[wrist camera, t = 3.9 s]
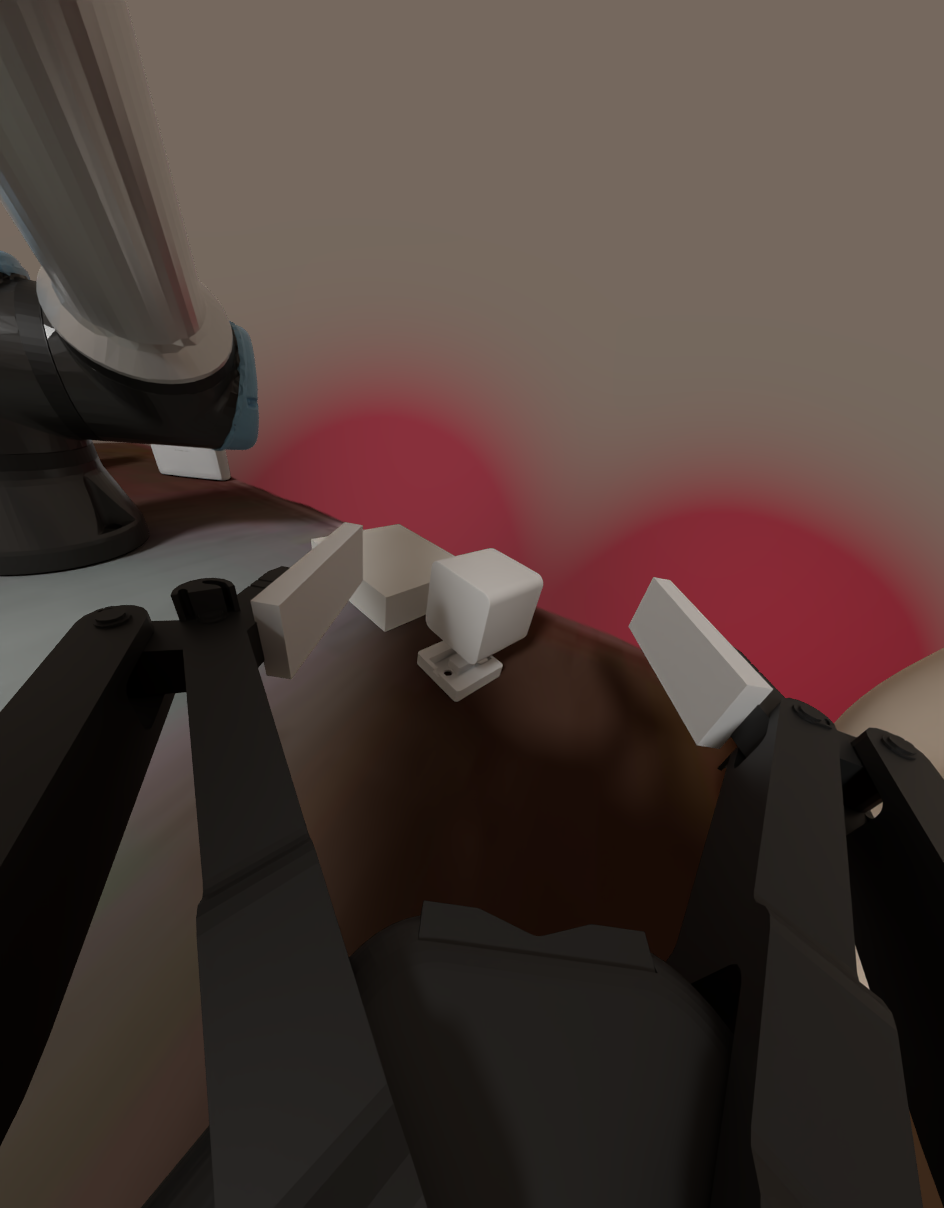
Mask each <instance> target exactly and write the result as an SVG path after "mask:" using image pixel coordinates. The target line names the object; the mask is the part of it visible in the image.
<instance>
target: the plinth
mask: <svg viewBox="0 0 944 1208" xmlns="http://www.w3.org/2000/svg"><path fill="white" fill-rule="evenodd" d="M327 537H328V536H327ZM327 537H322V538H316V539H311V543H312V549H313V548H315V547H316V546H317V545H318V544H319V543H321V542H322V541H323V540H324V539H325V538H327ZM450 557H454V555H452V554H450V553H449V552H447V551H445V550H444V549H442V548H440V547H438V546H436V545H435V544H433V543H431V542H430V541H428V540H426V539H424V538H423V537H421V536H419V535H417V534H416V533H414V532H412V531H410V530H408V529H407V528H405V527H403V526H402V525H400V524H396V525H391V526H385V527H379V528H373V529H368V530H363V581H362V583H361V584H360V585H359V587H358V588H357V590H356V591H355V592H354V594H353V595H352V597H351V598H350V599H349V601H350V602H351V603H352V604H353V605H354V606H355V607H356V608H358V609H359V610H360V611H361V612H362V613H363V614H365V615H366V616H367V617H368V618H369V619H370V620H371V621H373V622H374V623H375V624H376V625H377V626H378V627H380V628H381V629H382V630H383V631H384V632H386V631H389V630H391V629H393V628H396V627H398V626H400V625H403V624H405V623H407V622H410V621H412V620H414V619H417V618H419V617H421V616H424V615H426V609H427V601H428V593H429V584H430V576H431V567H432V564H433V562H435V561H438V560H442V559H446V558H450Z"/></svg>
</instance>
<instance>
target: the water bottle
mask: <svg viewBox="0 0 944 1208" xmlns="http://www.w3.org/2000/svg"><path fill="white" fill-rule="evenodd" d="M834 725H835V727H836V729H837V730H838V731H840V732H843V733H846V734H849V735H851V736H854V737H858V736H859V735H860V734H862V733H863V732H864V731H865V730H867V729H868V728H878V729H881V730H884V731H887V732H889V733H892V734H894V735H898V736H900V737H901V738H903V739H905V741H906V740H907V741H908V742H910V743H911V744H913V745H914V747H915V748H917V749H918V750H919V751H920V752H922V753H923V754H924V755H925V756H926V757H927V758H928V759H929V760H930V761H931V763H932V764H933V766H934V767H935V768H936V770H937V771H938V772H939V774H940V775H941V776H942V778H943V779H944V648H943V649H941V650H939V651H937V652H935V653H933V654H931V655H929V656H927V657H925V658H923V659H922V660H920V661H918V662H916V663H914V664H912V665H910V666H908V667H907V668H905V669H903V670H902V671H900V672H898V673H896V674H895V675H893V676H891V677H890V678H888V679H887V680H885V681H883V682H882V683H880V684H879V685H877V686H876V687H875V688H873V689H872V690H870V691H869V692H868V693H867V694H865V695H864V696H862V697H861V698H860V699H859V700H858V701H856V702H855V703H854V704H853V705H852V706H851V707H850V708H848V709H847V710H846V711H845V712H844V713H843V714H842V715H841V716H840V717H839V719H838V720H837V721H836V722H835V723H834ZM882 805H883V802H882V803H881V804H879V805H878V806H876V807H875V808H873V809H872V810H871V812H872V814H873V816H874V818H875V817H876V816H877V815H878V814H879V813H880V812H881V809H882ZM855 952H856V964H857V974H858V978H859V982H861V983H862V984H863V985H864V986H866V987H867V988H868V989H869V986H868V983H867V980H866V977H865V974H864V971H863V968H862V965H861V962H860V959H859V955H858V952H857V949H856V946H855ZM869 990H870V989H869Z"/></svg>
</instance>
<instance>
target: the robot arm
mask: <svg viewBox="0 0 944 1208" xmlns="http://www.w3.org/2000/svg"><path fill="white" fill-rule="evenodd" d="M0 202H1V203H2V205H3V206H4V208H5V210H6V211H7V213H8V214H9V216H10V217H11V219H12V220H13V222H14V223H15V225H16V226H17V228H18V230H19V231H20V233H21V234H22V236H23V237H24V239H25V241H26V242H27V243H28V245H29V247H30V248H31V250H32V251H33V253H34V255H35V256H36V258H37V259H38V261H39V262H40V264H41V265H42V266H41V268H40V270H39V272H38V276H37V281H32V280H30V277H29V275H28V272H27V271H26V270H25V269H24V268H23V267H22V266H21V264H20V263H19V261H18V260H17V259H16V258H14V257H13V256H12V255H10V254H8V253H6V252H3V251H0V575H19V574H33V573H43V572H51V571H58V570H64V569H70V568H76V567H81V566H85V565H90V564H94V563H98V562H102V561H105V560H108V559H111V558H115V557H117V556H120V555H123V554H125V553H127V552H130V551H132V550H134V549H135V548H137V547H139V546H140V545H142V544H143V543H144V542H145V541H146V540H147V539H148V537H149V530H148V527H147V524H146V521H145V519H144V516H143V514H142V513H141V511H140V510H139V509H138V507H137V506H136V505H135V504H134V503H133V501H132V500H131V499H130V498H129V497H128V495H127V494H126V493H125V492H124V491H123V489H122V488H121V487H120V486H119V485H118V483H117V482H116V481H115V480H114V479H113V477H112V476H111V475H110V474H109V473H108V471H107V470H106V469H105V468H104V467H103V465H102V463H101V462H100V459H99V457H98V455H97V452H96V450H95V447H94V445H93V442H92V440H100V441H114V442H127V443H141V444H155V445H169V446H182V447H193V448H205V449H212V450H215V451H223V450H225V449H230V450H246V449H249V448H251V447H253V446H254V444H255V443H256V441H257V437H258V427H259V413H258V404H257V390H258V389H257V377H256V368H255V359H254V353H253V347H252V343H251V339H250V336H249V334H248V333H247V332H246V330H244V329H243V328H242V327H240V326H237V325H235V324H234V323H233V322H230V321H229V320H228V317H227V315H226V313H225V310H224V308H223V307H222V305H221V304H220V303H219V301H218V299H217V298H216V297H215V296H214V295H213V294H212V292H211V291H210V290H209V289H208V288H207V287H206V286H205V285H204V284H203V283H202V282H201V281H199V279H198V275H197V271H196V267H195V264H194V260H193V255H192V252H191V248H190V244H189V240H188V236H187V232H186V228H185V225H184V221H183V217H182V213H181V209H180V205H179V202H178V198H177V194H176V190H175V186H174V182H173V179H172V175H171V171H170V167H169V163H168V159H167V155H166V151H165V148H164V144H163V140H162V136H161V132H160V128H159V125H158V121H157V117H156V114H155V109H154V106H153V102H152V98H151V94H150V90H149V86H148V82H147V78H146V74H145V71H144V67H143V63H142V60H141V55H140V52H139V48H138V44H137V40H136V36H135V32H134V28H133V25H132V21H131V17H130V13H129V9H128V5H127V1H126V0H0ZM362 581H363V526H362V525H358V524H352V523H347V522H345V523H344V524H342V525H341V526H340V527H339V528H338V529H336V530H335V531H334V532H333V533H331V534H330V535H329V536H328V537H327V538H325V539H324V540H323V541H322V542H321V543H319V544H318V545H317V546H316V547H315V548H313V549H312V550H311V551H310V552H309V553H307V554H306V555H305V556H304V557H303V558H301V559H300V560H299V561H298V562H297V563H295V564H294V565H293V566H292V567H291V568H289V567H283V566H281V567H279V568H276V569H273V570H271V571H268V572H267V573H265V574H264V575H263V576H261V577H260V578H259V579H258V580H256V581H255V582H254V583H252V584H251V586H248V587H247V588H246V589H244V590H243V591H242V592H240V593H239V594H238V595H237V594H236V590H235V586H234V585H233V584H232V582H230V581H228V580H225V579H219V578H203V579H197V580H193V581H189V582H186V583H184V584H181V585H179V586H178V587H176V588H175V589H174V590H173V591H172V593H171V598H172V600H173V603H174V606H175V609H176V611H177V614H178V617H179V620H174V621H151V619H150V617H149V614H148V612H147V611H146V610H145V609H144V608H142V607H139V606H135V605H120V606H110V607H105V608H104V609H103V608H102V609H99V610H96V611H94V612H92V613H89V614H87V615H85V616H83V617H82V618H81V619H79V620H78V621H77V622H76V623H75V624H74V625H73V626H72V628H71V629H70V630H69V631H68V632H67V633H66V635H65V636H64V637H63V638H62V639H61V641H60V642H59V643H58V644H57V645H56V647H55V648H54V649H53V650H52V651H51V652H50V654H49V655H48V656H47V657H46V658H45V660H44V661H43V662H42V663H41V664H40V666H39V667H38V668H37V669H36V670H35V671H34V673H33V674H32V675H31V676H30V677H29V679H28V680H27V681H26V682H25V683H24V685H23V686H22V687H21V688H20V689H19V690H18V692H17V693H16V694H15V695H14V696H13V698H12V699H11V700H10V701H9V702H8V704H7V705H6V706H5V707H4V708H3V709H2V711H1V712H0V1146H1V1144H2V1142H3V1140H4V1138H5V1135H6V1133H7V1131H8V1129H9V1127H10V1125H11V1123H12V1121H13V1119H14V1117H15V1115H16V1113H17V1111H18V1109H19V1107H20V1105H21V1103H22V1101H23V1099H24V1097H25V1094H26V1092H27V1089H28V1087H29V1085H30V1082H31V1080H32V1077H33V1075H34V1072H35V1070H36V1068H37V1065H38V1063H39V1060H40V1058H41V1055H42V1053H43V1051H44V1048H45V1046H46V1043H47V1041H48V1038H49V1036H50V1033H51V1030H52V1028H53V1025H54V1022H55V1019H56V1017H57V1014H58V1011H59V1008H60V1006H61V1003H62V1000H63V998H64V995H65V992H66V989H67V987H68V984H69V981H70V979H71V976H72V973H73V970H74V968H75V965H76V962H77V959H78V957H79V954H80V951H81V949H82V946H83V943H84V940H85V938H86V935H87V932H88V930H89V927H90V924H91V921H92V919H93V916H94V913H95V910H96V908H97V905H98V902H99V900H100V897H101V894H102V891H103V889H104V886H105V883H106V881H107V878H108V875H109V872H110V870H111V867H112V864H113V861H114V859H115V856H116V853H117V851H118V848H119V845H120V842H121V840H122V837H123V834H124V831H125V829H126V826H127V823H128V821H129V818H130V815H131V812H132V810H133V807H134V804H135V802H136V799H137V796H138V793H139V791H140V788H141V785H142V782H143V780H144V777H145V774H146V772H147V769H148V766H149V763H150V761H151V758H152V755H153V753H154V750H155V747H156V744H157V742H158V739H159V736H160V733H161V731H162V728H163V725H164V723H165V720H166V717H167V714H168V712H169V709H170V706H171V704H172V701H173V698H174V695H175V693H181V692H187V704H188V715H189V727H190V739H191V750H192V762H193V774H194V785H195V797H196V808H197V820H198V832H199V843H200V855H201V866H202V878H203V898H202V900H201V901H200V903H199V905H198V908H197V917H196V927H197V948H198V963H199V978H200V992H201V1007H202V1022H203V1036H204V1051H205V1066H206V1080H207V1095H208V1110H209V1124H210V1125H209V1126H208V1128H207V1129H206V1130H205V1131H204V1132H203V1134H202V1135H201V1136H200V1137H199V1138H198V1140H197V1141H196V1142H195V1143H194V1145H193V1146H192V1147H191V1148H190V1149H189V1151H188V1152H187V1153H186V1154H185V1155H184V1157H183V1158H182V1159H181V1160H180V1161H179V1163H178V1164H177V1165H176V1166H175V1167H174V1169H173V1170H172V1171H171V1172H170V1173H169V1175H168V1176H167V1177H166V1178H165V1179H164V1181H163V1182H162V1183H161V1184H160V1185H159V1187H158V1188H157V1189H156V1190H155V1191H154V1193H153V1194H152V1195H151V1196H150V1197H149V1199H148V1200H147V1201H146V1202H145V1204H144V1205H143V1206H142V1207H141V1208H923V1205H922V1198H921V1191H920V1184H919V1177H918V1170H917V1163H916V1156H915V1149H914V1142H913V1135H912V1129H911V1122H910V1115H909V1110H910V1113H911V1116H912V1119H913V1122H914V1125H915V1128H916V1131H917V1135H918V1138H919V1141H920V1144H921V1147H922V1149H923V1152H924V1155H925V1158H926V1160H927V1163H928V1166H929V1169H930V1171H931V1174H932V1177H933V1180H934V1182H935V1185H936V1188H937V1191H938V1193H939V1196H940V1199H941V1201H942V1204H943V1207H944V779H943V778H942V776H941V775H940V774H939V772H938V771H937V770H936V768H935V767H934V766H933V764H932V763H931V761H930V760H929V759H928V758H927V757H926V756H925V755H924V754H923V753H922V752H920V751H919V750H918V749H917V748H915V747H914V745H913V744H911V743H910V742H908V741H907V740H906V741H905V739H903V738H901V737H900V736H898V735H894V734H892V733H889V732H887V731H884V730H881V729H878V728H868V729H867V730H865V731H864V732H863V733H862V734H860V735H859V736H858V737H854V736H851V735H849V734H846V733H843V732H840V731H838V730H837V729H836V727H835V725H834V724H833V723H832V721H831V720H830V719H829V718H828V717H826V716H825V715H824V714H823V713H821V712H820V711H819V710H817V709H815V708H814V707H812V706H810V705H808V704H806V703H804V702H801V701H799V700H796V699H792V698H785V697H784V696H783V695H782V694H781V693H780V692H779V691H778V690H777V689H776V688H775V687H774V686H773V685H772V684H771V683H770V682H769V681H768V680H767V679H766V677H764V676H763V674H762V673H760V672H759V670H758V669H757V668H756V667H755V666H754V665H753V664H751V662H750V661H749V660H748V659H747V658H746V657H745V656H744V655H743V653H742V652H740V651H739V650H737V649H736V648H735V647H733V646H732V645H731V644H730V643H729V642H728V641H727V640H726V639H725V638H724V637H723V636H722V635H721V634H720V633H719V631H718V630H717V629H716V628H715V627H714V626H713V625H712V624H711V623H710V622H709V621H708V620H707V619H706V618H705V617H704V616H703V615H702V614H701V612H700V611H698V609H697V608H696V607H695V606H694V605H693V604H692V603H691V602H690V601H689V600H688V599H687V598H686V597H685V596H684V594H683V593H682V592H681V591H680V590H679V589H678V588H677V587H676V586H675V585H674V584H673V583H672V582H671V581H670V580H666V579H660V578H655V577H654V578H653V579H652V581H651V583H650V585H649V587H648V589H647V592H646V593H645V595H644V597H643V599H642V601H641V603H640V605H639V607H638V609H637V611H636V613H635V615H634V617H633V619H632V621H631V623H630V625H629V628H630V630H631V631H632V633H633V634H634V637H635V638H636V640H637V642H638V644H639V645H640V647H641V649H642V651H643V652H644V654H645V656H646V657H647V659H648V661H649V663H650V664H651V666H652V668H653V670H654V671H655V673H656V675H657V677H658V678H659V680H660V682H661V684H662V685H663V687H664V689H665V690H666V692H667V694H668V696H669V697H670V699H671V701H672V703H673V704H674V706H675V708H676V710H677V711H678V713H679V715H680V716H681V718H682V720H683V722H684V723H685V725H686V727H687V729H688V730H689V732H690V734H691V736H692V737H693V739H694V741H695V743H696V744H697V745H700V746H706V747H712V748H718V749H720V748H721V747H722V746H723V744H724V743H725V742H726V741H727V740H728V739H729V738H730V737H732V739H733V740H734V741H735V743H736V744H737V746H738V747H737V748H736V749H735V750H734V751H733V752H732V753H731V754H730V755H729V756H728V758H727V759H726V760H725V761H724V762H723V763H722V764H721V765H720V766H719V767H718V769H719V770H721V771H722V770H723V769H724V768H727V769H726V773H725V776H724V780H723V783H722V787H721V790H720V794H719V797H718V801H717V804H716V808H715V811H714V815H713V818H712V822H711V825H710V829H709V832H708V836H707V839H706V843H705V846H704V850H703V853H702V857H701V860H700V864H699V867H698V871H697V874H696V878H695V881H694V885H693V888H692V892H691V895H690V899H689V902H688V906H687V909H686V913H685V916H684V920H683V924H682V927H681V931H680V934H679V938H678V941H677V944H676V946H675V948H674V950H673V952H672V954H671V955H670V957H669V958H668V960H667V961H666V962H664V961H663V960H661V959H660V958H658V957H657V956H655V955H654V954H652V953H650V950H649V946H648V943H647V939H646V936H645V932H643V931H636V930H628V929H621V928H614V927H607V926H600V925H593V924H590V925H586V926H582V927H578V928H574V929H570V930H565V931H561V932H557V933H553V934H549V935H545V936H534V935H531V934H529V933H527V932H525V931H523V930H521V929H519V928H517V927H515V926H513V925H511V924H509V923H507V922H505V921H503V920H501V919H499V918H497V917H495V916H493V915H491V914H489V913H487V912H485V911H483V910H481V909H479V908H473V907H466V906H459V905H452V904H445V903H438V902H431V901H424V902H423V906H422V911H421V915H420V916H416V917H411V918H407V919H404V920H402V921H399V922H397V923H394V924H392V925H390V926H388V927H387V928H385V929H383V930H381V931H380V932H378V933H377V934H375V935H374V936H373V937H372V938H370V939H369V940H368V941H366V942H365V943H364V944H363V945H362V946H361V947H360V948H359V949H357V950H356V951H355V952H354V953H353V954H352V955H351V956H350V957H349V958H348V954H347V951H346V948H345V945H344V941H343V938H342V935H341V932H340V928H339V925H338V922H337V919H336V916H335V912H334V909H333V906H332V903H331V899H330V896H329V893H328V890H327V886H326V883H325V880H324V877H323V873H322V870H321V867H320V864H319V860H318V857H317V854H316V851H315V848H314V845H313V842H312V840H311V838H310V836H309V834H308V831H307V827H306V824H305V821H304V818H303V814H302V811H301V808H300V805H299V801H298V798H297V795H296V791H295V788H294V785H293V782H292V778H291V775H290V772H289V768H288V765H287V762H286V759H285V755H284V752H283V749H282V745H281V742H280V739H279V735H278V732H277V729H276V726H275V722H274V719H273V716H272V712H271V709H270V706H269V703H268V699H267V696H266V693H265V689H264V686H263V683H262V680H261V676H260V673H259V670H258V667H259V666H260V665H261V664H262V663H263V662H264V665H265V670H266V674H267V676H274V677H280V678H286V679H292V678H293V677H294V675H295V674H296V672H297V671H298V670H299V668H300V667H301V666H302V664H303V663H304V661H305V660H306V659H307V657H308V656H309V654H310V653H311V652H312V650H313V649H314V648H315V646H316V645H317V643H318V642H319V641H320V639H321V638H322V637H323V635H324V634H325V632H326V631H327V630H328V628H329V627H330V625H331V624H332V623H333V621H334V620H335V619H336V617H337V616H338V614H339V613H340V612H341V610H342V609H343V608H344V606H345V605H346V603H347V602H348V601H349V599H350V598H351V597H352V595H353V594H354V592H355V591H356V590H357V588H358V587H359V585H360V584H361V583H362ZM882 802H883V805H882V809H881V812H880V813H879V814H878V815H877V816H876V817H875V818H874V816H873V814H872V812H871V810H872V809H873V808H875V807H876V806H878V805H879V804H881V803H882ZM855 946H856V949H857V952H858V955H859V959H860V962H861V965H862V968H863V971H864V974H865V977H866V980H867V983H868V986H869V989H870V990H869V989H868V988H867V987H866V986H864V985H863V984H862V983H861V982H859V978H858V974H857V964H856V952H855ZM908 1107H909V1108H908Z"/></svg>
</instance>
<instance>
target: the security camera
mask: <svg viewBox="0 0 944 1208" xmlns="http://www.w3.org/2000/svg"><path fill="white" fill-rule="evenodd" d="M542 587H543V580H542V578H541V576H540V575H539V574H538V573H536V572H534V571H532V570H531V569H529V568H527V567H525V566H524V565H522V564H520V563H518V562H517V561H515V560H513V559H511V558H509V557H508V556H506V555H504V554H503V553H501V552H499V551H497V550H495V549H493V548H488V549H484V550H480V551H476V552H471V553H467V554H463V555H459V556H454V557H450V558H446V559H442V560H438V561H435V562H433V564H432V567H431V576H430V584H429V593H428V601H427V609H426V623H427V625H428V627H429V628H430V629H431V630H432V631H433V632H434V633H435V634H436V635H438V636H439V637H440V638H441V639H442V640H443V641H441V642H439V643H437V644H434V645H432V646H430V647H428V648H425V649H423V650H421V651H419V652H418V659H417V664H418V665H419V666H420V667H421V668H422V669H423V670H424V671H425V672H426V673H427V674H428V675H429V676H430V677H431V678H432V679H433V680H434V681H435V683H436V684H437V685H438V686H439V687H440V688H441V689H442V690H443V691H444V692H445V693H446V694H447V695H448V696H449V697H450V698H451V699H452V700H453V701H455V702H458V701H460V700H461V699H463V698H464V697H466V696H468V695H469V694H471V693H473V692H474V691H476V690H478V689H479V688H481V687H482V686H484V685H486V684H487V683H489V682H491V681H492V680H494V679H496V678H497V677H499V676H500V673H501V669H502V666H503V665H502V663H501V662H499V661H498V660H497V659H496V658H494V657H493V656H492V655H493V654H494V653H496V652H498V651H500V650H502V649H504V648H506V647H507V646H509V645H511V644H513V643H515V642H517V641H519V640H521V639H523V638H524V637H526V635H527V633H528V630H529V627H530V624H531V620H532V617H533V614H534V611H535V608H536V605H537V602H538V599H539V596H540V593H541V590H542ZM444 672H451V673H452V675H450V676H446V675H445V674H444Z"/></svg>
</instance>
